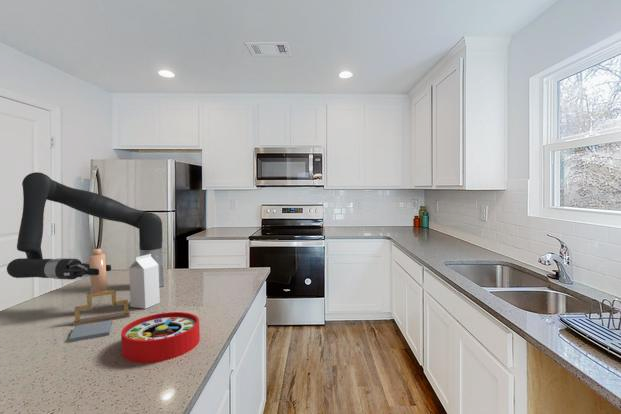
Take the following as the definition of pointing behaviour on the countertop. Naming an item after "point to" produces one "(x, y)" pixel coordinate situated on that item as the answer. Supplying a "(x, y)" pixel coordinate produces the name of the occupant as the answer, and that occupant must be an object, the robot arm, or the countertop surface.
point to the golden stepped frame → (103, 317)
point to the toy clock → (160, 337)
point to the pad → (90, 331)
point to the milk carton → (144, 282)
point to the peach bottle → (99, 262)
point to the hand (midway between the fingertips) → (104, 269)
